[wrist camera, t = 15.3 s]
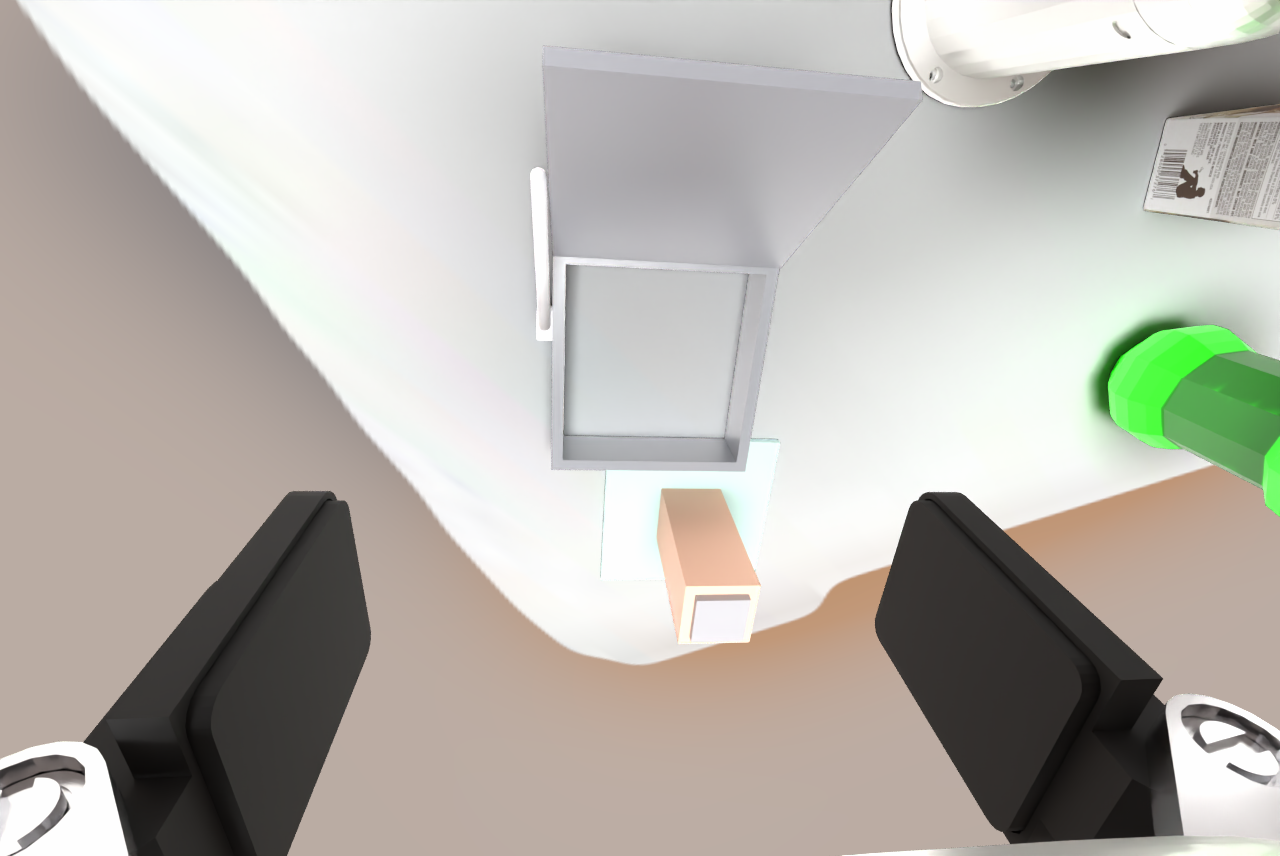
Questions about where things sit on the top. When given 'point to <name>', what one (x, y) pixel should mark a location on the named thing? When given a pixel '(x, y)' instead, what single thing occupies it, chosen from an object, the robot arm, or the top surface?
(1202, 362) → the plastic bottle
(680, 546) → the block
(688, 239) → the case
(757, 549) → the mat
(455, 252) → the top surface
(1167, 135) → the coffee box
